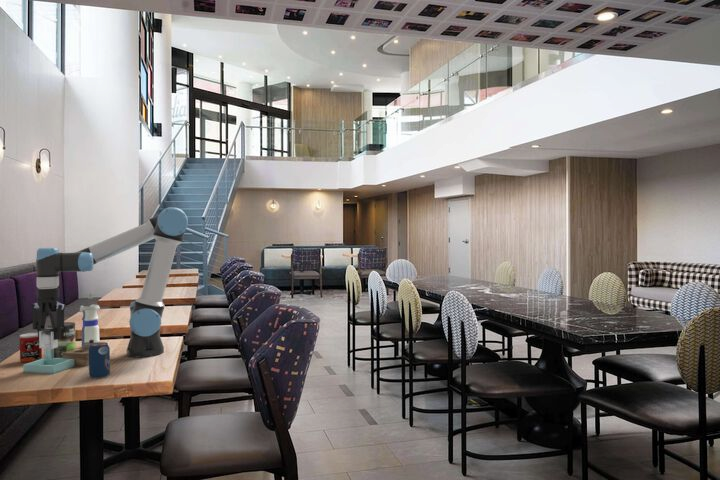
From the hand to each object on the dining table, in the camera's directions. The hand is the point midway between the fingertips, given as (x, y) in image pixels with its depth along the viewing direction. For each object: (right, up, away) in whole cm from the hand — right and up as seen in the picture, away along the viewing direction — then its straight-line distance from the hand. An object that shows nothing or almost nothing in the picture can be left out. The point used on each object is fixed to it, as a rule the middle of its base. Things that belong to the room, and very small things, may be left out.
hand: (48, 347), depth 203 cm
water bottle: (-4, -8, +40) cm, 41 cm away
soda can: (+25, -9, -10) cm, 28 cm away
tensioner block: (+8, -8, +12) cm, 17 cm away
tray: (0, -8, 0) cm, 9 cm away
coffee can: (-6, -8, +21) cm, 23 cm away
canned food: (-16, -9, +14) cm, 23 cm away
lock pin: (0, -5, 0) cm, 5 cm away
